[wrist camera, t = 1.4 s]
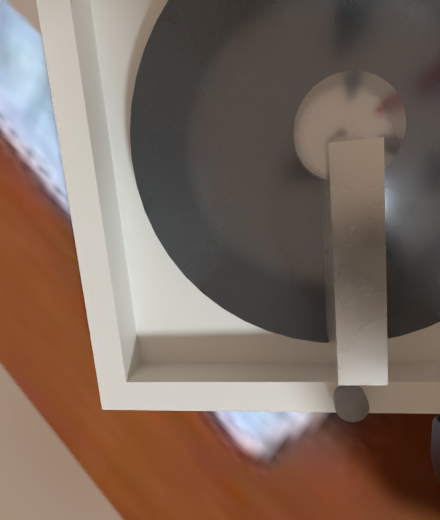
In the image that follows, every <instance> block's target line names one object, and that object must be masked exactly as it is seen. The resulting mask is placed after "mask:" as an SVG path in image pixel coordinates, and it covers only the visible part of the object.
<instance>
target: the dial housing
mask: <svg viewBox="0 0 440 520" xmlns="http://www.w3.org/2000/svg"><path fill="white" fill-rule="evenodd" d="M167 1H168V0H36V2H37V9H38V14H39V21H40V28H41V34H42V40H43V46H44V52H45V58H46V65H47V71H48V77H49V83H50V89H51V95H52V102H53V108H54V114H55V120H56V126H57V133H58V139H59V145H60V151H61V157H62V163H63V170H64V176H65V182H66V188H67V194H68V201H69V207H70V213H71V219H72V225H73V231H74V238H75V244H76V250H77V256H78V262H79V268H80V275H81V281H82V287H83V293H84V299H85V306H86V312H87V318H88V324H89V330H90V336H91V343H92V349H93V355H94V361H95V367H96V373H97V380H98V386H99V392H100V398H101V404H102V410H175V411H254V412H333V413H337V414H338V416H339V417H340V418H342V419H343V420H345V421H348V422H358V421H361V420H363V419H364V418H365V417H366V416H367V415H368V413H412V414H440V322H438V323H436V324H434V325H432V326H430V327H427V328H424V329H421V330H418V331H415V332H412V333H409V334H405V335H402V336H398V337H393V338H388V339H387V343H388V385H338V381H337V376H336V372H335V367H334V363H333V358H332V354H331V349H330V345H329V343H319V342H313V341H306V340H300V339H294V338H290V337H287V336H283V335H280V334H276V333H273V332H269V331H267V330H264V329H262V328H260V327H257V326H255V325H253V324H250V323H248V322H245V321H244V320H242V319H240V318H238V317H237V316H235V315H233V314H231V313H230V312H228V311H226V310H225V309H223V308H221V307H220V306H219V305H218V304H216V303H215V302H214V301H212V300H211V299H210V298H208V297H207V296H206V295H204V294H203V293H202V292H201V291H200V290H199V289H198V288H197V287H196V286H195V285H194V284H193V283H192V282H191V281H190V280H188V279H187V278H186V277H185V276H184V274H183V273H182V272H181V271H180V269H179V268H178V267H177V266H176V264H175V263H174V262H173V261H172V259H171V258H170V257H169V255H168V254H167V252H166V251H165V249H164V247H163V246H162V244H161V243H160V241H159V239H158V238H157V236H156V234H155V232H154V230H153V228H152V226H151V224H150V221H149V219H148V217H147V215H146V213H145V210H144V207H143V204H142V201H141V198H140V195H139V192H138V189H137V185H136V180H135V174H134V169H133V164H132V156H131V142H130V120H131V104H132V98H133V92H134V86H135V80H136V75H137V72H138V69H139V65H140V62H141V58H142V55H143V52H144V48H145V46H146V44H147V41H148V39H149V37H150V34H151V32H152V30H153V27H154V25H155V23H156V21H157V19H158V17H159V15H160V14H161V12H162V10H163V8H164V7H165V5H166V3H167Z"/></svg>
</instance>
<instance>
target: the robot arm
mask: <svg viewBox="0 0 440 520" xmlns="http://www.w3.org/2000/svg"><path fill="white" fill-rule="evenodd" d="M431 462H432V466H433V470H434V472H435V475H436V478H437V481H438V484H439V486H440V416H436V417H435V418H434V419H433V422H432V438H431Z"/></svg>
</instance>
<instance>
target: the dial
mask: <svg viewBox="0 0 440 520" xmlns="http://www.w3.org/2000/svg"><path fill="white" fill-rule="evenodd" d="M130 142H131V156H132V164H133V169H134V174H135V180H136V185H137V189H138V192H139V195H140V198H141V201H142V204H143V207H144V210H145V213H146V215H147V217H148V219H149V221H150V224H151V226H152V228H153V230H154V232H155V234H156V236H157V238H158V239H159V241H160V243H161V244H162V246H163V247H164V249H165V251H166V252H167V254H168V255H169V257H170V258H171V259H172V261H173V262H174V263H175V264H176V266H177V267H178V268H179V269H180V271H181V272H182V273H183V274H184V276H185V277H186V278H187V279H188V280H190V281H191V282H192V283H193V284H194V285H195V286H196V287H197V288H198V289H199V290H200V291H201V292H202V293H203V294H204V295H206V296H207V297H208V298H210V299H211V300H212V301H214V302H215V303H216V304H218V305H219V306H220V307H221V308H223V309H225V310H226V311H228V312H230V313H231V314H233V315H235V316H237V317H238V318H240V319H242V320H244V321H245V322H248V323H250V324H253V325H255V326H257V327H260V328H262V329H264V330H267V331H269V332H273V333H276V334H280V335H283V336H287V337H290V338H294V339H300V340H306V341H313V342H319V343H329V345H330V349H331V354H332V358H333V363H334V367H335V372H336V376H337V381H338V385H388V343H387V339H388V338H393V337H398V336H402V335H405V334H409V333H412V332H415V331H418V330H421V329H424V328H427V327H430V326H432V325H434V324H436V323H438V322H440V0H168V1H167V3H166V5H165V7H164V8H163V10H162V12H161V14H160V15H159V17H158V19H157V21H156V23H155V25H154V27H153V30H152V32H151V34H150V37H149V39H148V41H147V44H146V46H145V48H144V52H143V55H142V58H141V62H140V65H139V69H138V72H137V75H136V80H135V86H134V92H133V98H132V104H131V120H130Z"/></svg>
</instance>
